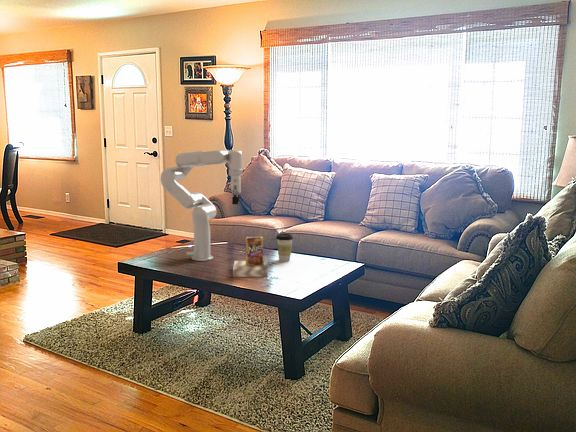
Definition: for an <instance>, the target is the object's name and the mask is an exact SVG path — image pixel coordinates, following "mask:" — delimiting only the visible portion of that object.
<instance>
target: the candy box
mask: <svg viewBox="0 0 576 432" xmlns="http://www.w3.org/2000/svg"><path fill="white" fill-rule="evenodd" d="M245 261H246V266H252V265H263V261H264V237H263V236H245Z"/></svg>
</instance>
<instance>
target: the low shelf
mask: <svg viewBox="0 0 576 432" xmlns="http://www.w3.org/2000/svg"><path fill="white" fill-rule="evenodd" d="M232 267H233V268H232V277H234V278H235V277H237V278H238V277H239V278H241V277H242V278H243V277H244V278H245V277H252V278H253V277H255V278H256V277H264V278H265V277H268V256H267V255H266V256H265V255H263V265H252V266H246V260H234V263H233V266H232Z"/></svg>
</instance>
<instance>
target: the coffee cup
mask: <svg viewBox="0 0 576 432" xmlns="http://www.w3.org/2000/svg"><path fill="white" fill-rule="evenodd" d="M275 239H276V245H277V254H278V260H279V262H284V263H285V262H287V263H288V262H290V261H291V254H292V248H293V239H294V237H293V235H292V234H291V233H290V234H289V233H279V234H277V236H276V238H275Z"/></svg>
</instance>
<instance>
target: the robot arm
mask: <svg viewBox="0 0 576 432" xmlns="http://www.w3.org/2000/svg"><path fill="white" fill-rule="evenodd" d="M174 161H175V164H176V166H171V167H167V168H165V169H163V170H162V172H161V174H160V183H161V184H160V185H162V187H163V189H164V190H165V191H166V192H167V193H168V194H169V195H171V196H172V197H173V198H174V199H175V200H176V201H177V202H178V203H179V204H180V205H181V206H182V207H183V208H185V209H186V210H192V212H191V218H192V224H193V250H192V251H186V255H187V256H191V260H193V261H198V262H204V261H210V260H213V259H214V256H213V254H212V253H211V225H210V220H212V219H214V218H215V217H216V216H217V207H216V206H215V205H214V204H213V202H211V201H210V199H208V198H207V197H206V196H205V195H204V194H202V193H201V192H199V191H189V190H188V188H187V189H186V187H185V186H184V185H182V184H181V183H179V182H180V181H183V180H184V179H186V178H187V175H189V174H190V172H191V171H192V169H193V168H194V167H204V166H211V165H221V164H227V163H228V176H230V186H231V187H230V188H231V193H232V198H231V199H232V202H231V204H232V205H238V204H239V202H240V195H239V194H241V191H242V183H241V182H242V180H241V178H242V176H243V152H242V151H241V150H231V149H230V150H229V149H219V150H218V149H217V150H209V151H201V150H198V151H197V150H196V151H188V152H181V153H178V154H177V155H176V156H175V160H174Z"/></svg>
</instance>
